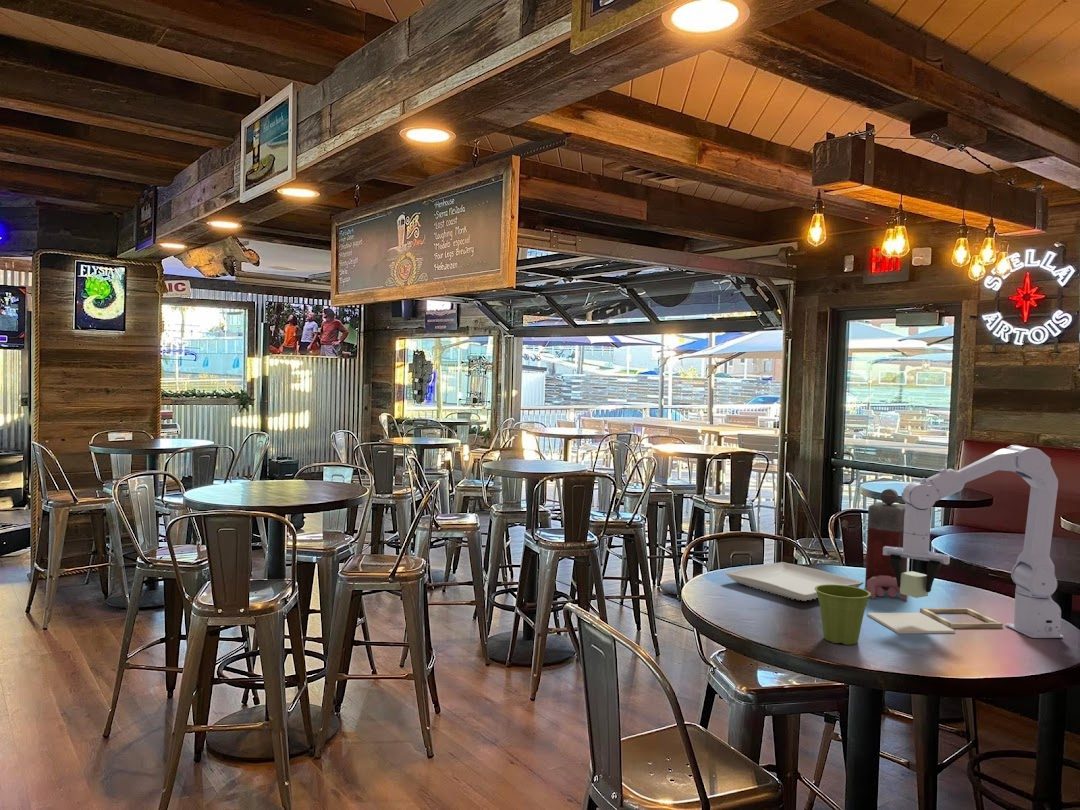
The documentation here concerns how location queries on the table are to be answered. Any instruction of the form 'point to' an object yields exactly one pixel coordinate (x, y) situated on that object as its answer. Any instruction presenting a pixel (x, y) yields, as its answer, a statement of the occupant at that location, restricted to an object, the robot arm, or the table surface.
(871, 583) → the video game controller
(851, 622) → the plant pot
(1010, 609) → the table surface
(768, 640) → the table surface
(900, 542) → the brown canister
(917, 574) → the sage block
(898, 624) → the beige mat
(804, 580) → the square plate
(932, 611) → the maple pocket frame
